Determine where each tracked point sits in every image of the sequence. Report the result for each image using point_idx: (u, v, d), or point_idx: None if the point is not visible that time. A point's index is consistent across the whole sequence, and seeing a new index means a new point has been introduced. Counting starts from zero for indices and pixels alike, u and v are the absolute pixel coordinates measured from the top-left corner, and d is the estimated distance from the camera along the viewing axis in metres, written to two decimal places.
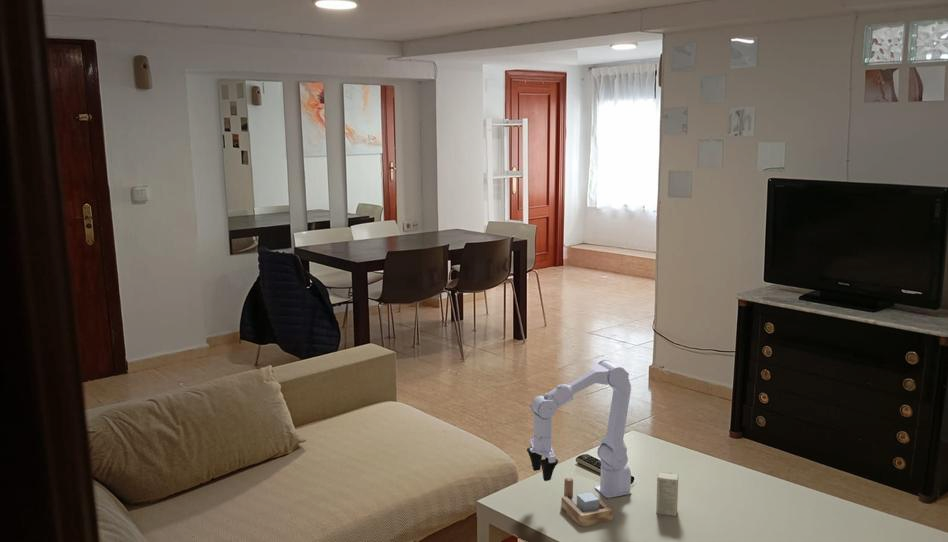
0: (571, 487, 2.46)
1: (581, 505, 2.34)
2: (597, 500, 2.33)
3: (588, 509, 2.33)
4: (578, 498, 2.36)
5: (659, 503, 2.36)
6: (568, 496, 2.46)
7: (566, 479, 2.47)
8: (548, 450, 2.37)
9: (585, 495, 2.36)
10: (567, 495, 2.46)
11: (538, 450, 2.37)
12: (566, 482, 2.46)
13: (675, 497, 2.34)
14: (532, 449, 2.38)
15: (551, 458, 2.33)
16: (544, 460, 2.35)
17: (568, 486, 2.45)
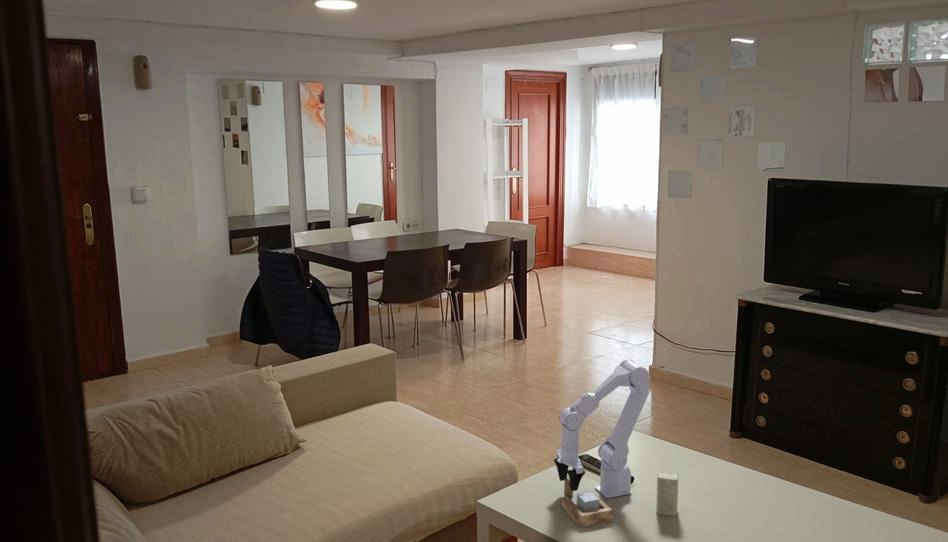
0: None
1: (581, 505, 2.34)
2: (597, 500, 2.33)
3: (588, 509, 2.33)
4: (578, 498, 2.36)
5: (659, 503, 2.36)
6: (568, 496, 2.46)
7: (566, 479, 2.47)
8: (575, 461, 2.43)
9: (585, 495, 2.36)
10: (567, 495, 2.46)
11: (566, 461, 2.42)
12: (566, 482, 2.46)
13: (675, 497, 2.34)
14: (560, 460, 2.44)
15: (579, 469, 2.38)
16: (572, 471, 2.41)
17: (568, 486, 2.45)
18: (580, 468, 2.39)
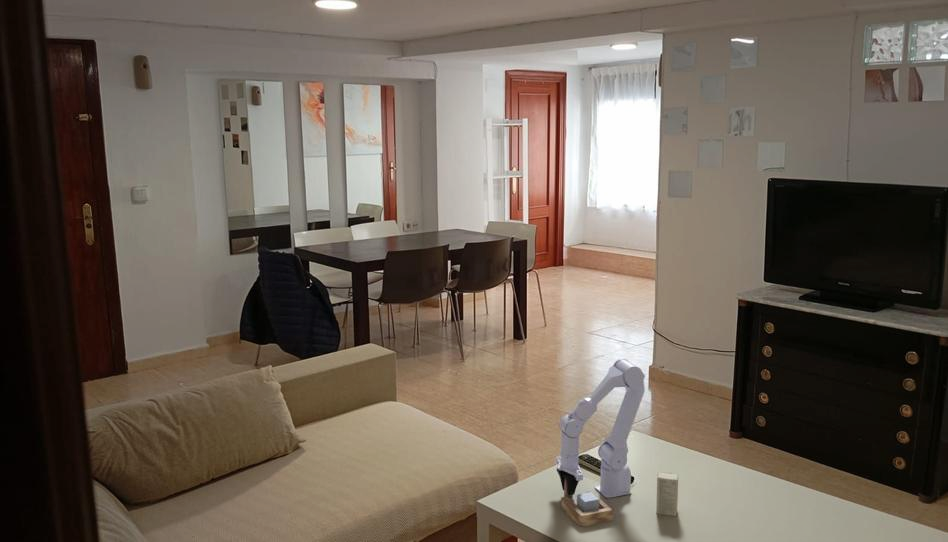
0: None
1: (581, 505, 2.34)
2: (597, 500, 2.33)
3: (588, 509, 2.33)
4: (578, 498, 2.36)
5: (659, 503, 2.36)
6: (568, 496, 2.46)
7: None
8: (575, 468, 2.43)
9: (585, 495, 2.36)
10: (567, 495, 2.46)
11: (565, 468, 2.43)
12: None
13: (675, 497, 2.34)
14: (559, 467, 2.44)
15: (579, 476, 2.39)
16: (568, 475, 2.43)
17: None
18: (580, 475, 2.39)
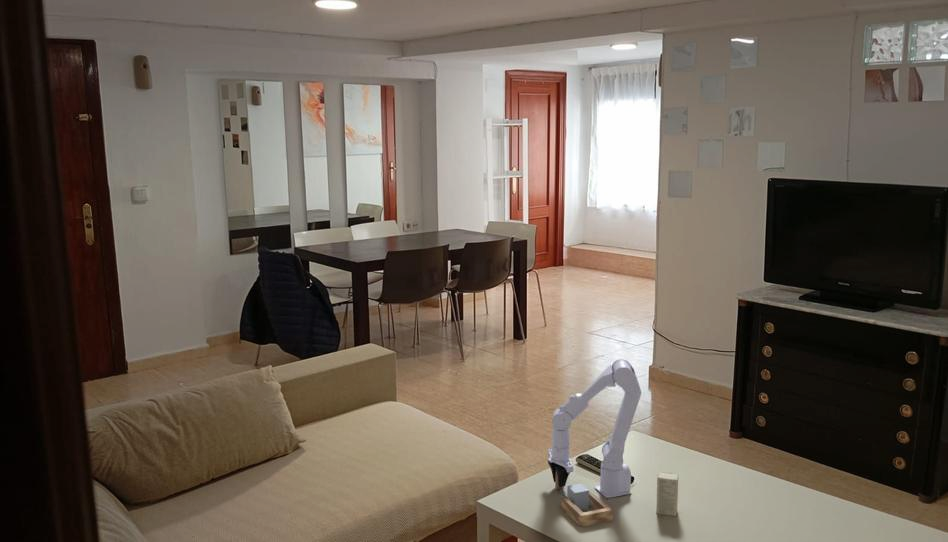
0: None
1: (572, 496, 2.40)
2: (587, 491, 2.39)
3: (578, 500, 2.38)
4: (568, 489, 2.41)
5: (659, 503, 2.36)
6: (559, 488, 2.52)
7: None
8: (566, 460, 2.49)
9: (575, 486, 2.42)
10: (558, 487, 2.52)
11: (556, 460, 2.49)
12: None
13: (675, 497, 2.34)
14: (551, 459, 2.50)
15: (569, 468, 2.45)
16: (559, 467, 2.49)
17: None
18: (570, 467, 2.45)
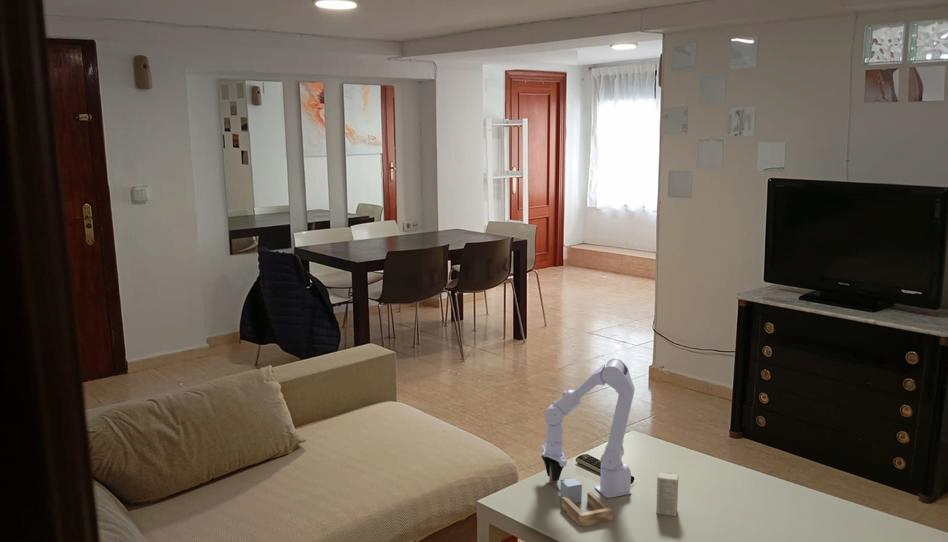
0: None
1: (565, 490, 2.44)
2: (580, 485, 2.43)
3: (571, 493, 2.43)
4: (562, 483, 2.45)
5: (659, 503, 2.36)
6: (553, 482, 2.56)
7: None
8: (559, 454, 2.53)
9: (568, 480, 2.46)
10: (552, 481, 2.56)
11: (550, 454, 2.53)
12: None
13: (675, 497, 2.34)
14: (544, 453, 2.54)
15: (562, 462, 2.49)
16: (553, 461, 2.53)
17: None
18: (563, 461, 2.49)
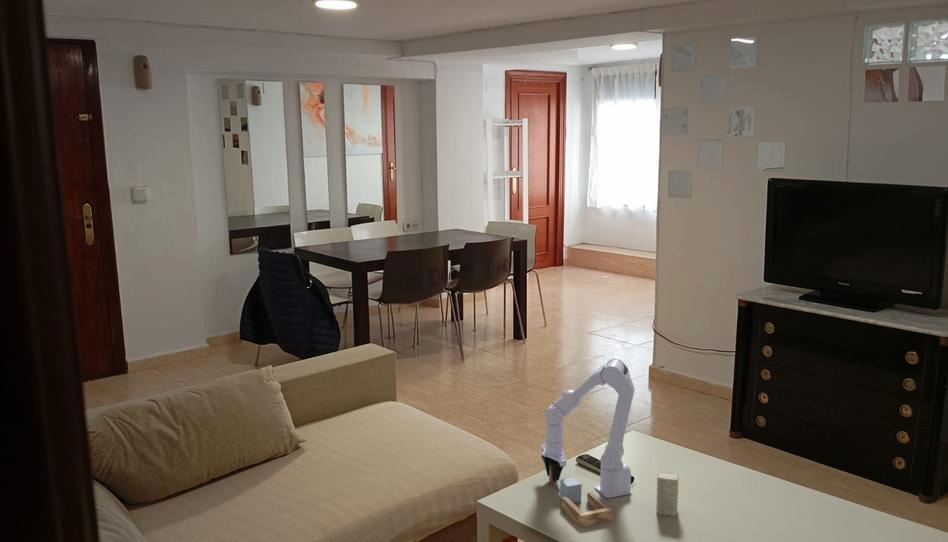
0: None
1: (564, 490, 2.44)
2: (579, 485, 2.43)
3: (570, 493, 2.43)
4: (561, 483, 2.46)
5: (659, 503, 2.36)
6: (553, 481, 2.56)
7: None
8: (559, 454, 2.53)
9: (568, 480, 2.46)
10: (552, 481, 2.56)
11: (550, 454, 2.53)
12: None
13: (675, 497, 2.34)
14: (544, 453, 2.54)
15: (562, 462, 2.49)
16: (553, 461, 2.53)
17: None
18: (563, 461, 2.49)
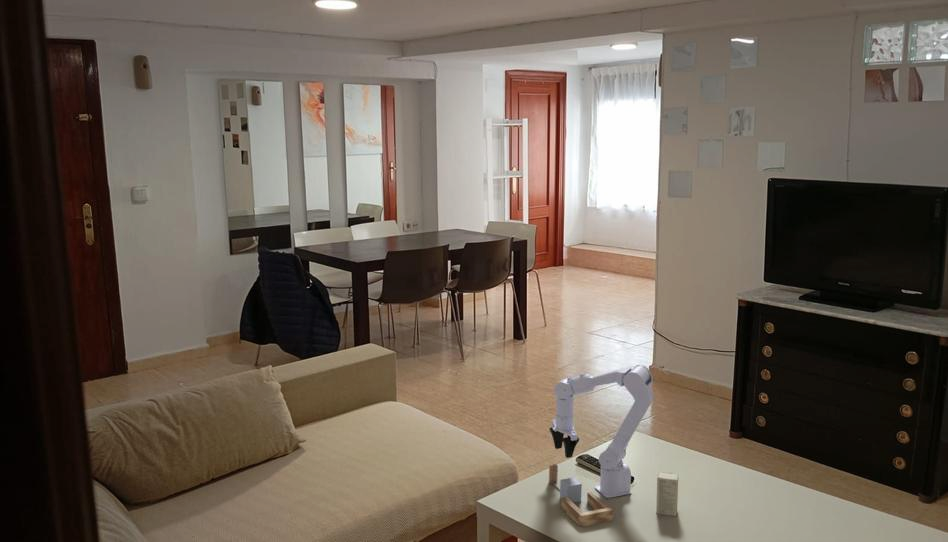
0: (555, 473, 2.56)
1: (564, 490, 2.44)
2: (579, 485, 2.43)
3: (570, 493, 2.43)
4: (561, 483, 2.46)
5: (659, 503, 2.36)
6: (553, 481, 2.56)
7: (551, 465, 2.57)
8: (570, 429, 2.54)
9: (568, 480, 2.46)
10: (552, 481, 2.56)
11: (561, 429, 2.53)
12: (551, 468, 2.56)
13: (675, 497, 2.34)
14: (555, 428, 2.55)
15: (573, 436, 2.49)
16: (566, 438, 2.52)
17: (553, 472, 2.56)
18: (574, 435, 2.49)
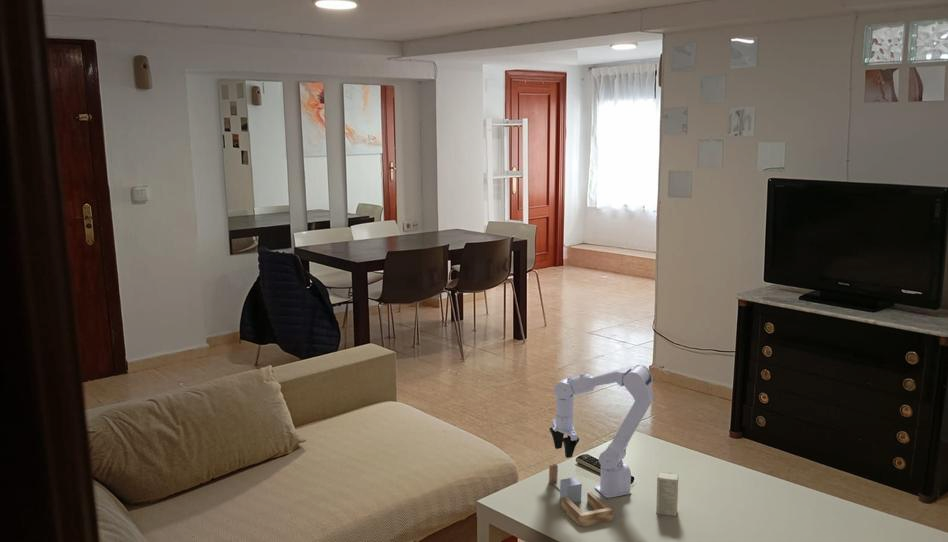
0: (555, 473, 2.56)
1: (564, 490, 2.44)
2: (579, 485, 2.43)
3: (570, 493, 2.43)
4: (561, 483, 2.46)
5: (659, 503, 2.36)
6: (553, 481, 2.56)
7: (551, 465, 2.57)
8: (570, 429, 2.54)
9: (568, 480, 2.46)
10: (552, 481, 2.56)
11: (561, 429, 2.53)
12: (551, 468, 2.56)
13: (675, 497, 2.34)
14: (555, 428, 2.55)
15: (573, 436, 2.49)
16: (566, 438, 2.52)
17: (553, 472, 2.56)
18: (574, 435, 2.49)
